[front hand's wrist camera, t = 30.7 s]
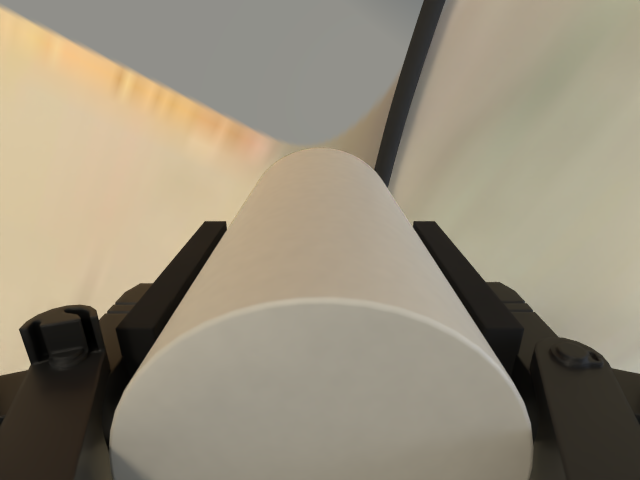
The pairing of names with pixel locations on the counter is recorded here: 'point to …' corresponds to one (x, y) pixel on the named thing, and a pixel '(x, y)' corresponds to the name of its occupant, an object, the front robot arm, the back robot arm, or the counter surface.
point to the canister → (321, 351)
